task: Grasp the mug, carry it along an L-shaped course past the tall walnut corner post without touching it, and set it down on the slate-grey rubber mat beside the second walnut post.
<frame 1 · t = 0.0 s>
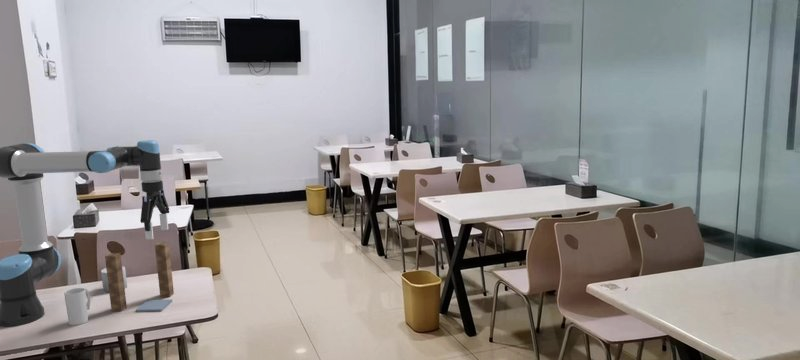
hand: (157, 234, 228), 28 cm above the table, fingers open, 13 cm apart
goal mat: (154, 306, 228), on the table
far post: (167, 295, 240), on the table
mug: (82, 320, 217), on the table
corner post: (119, 309, 227), on the table
toilet tissue: (116, 287, 251), on the table
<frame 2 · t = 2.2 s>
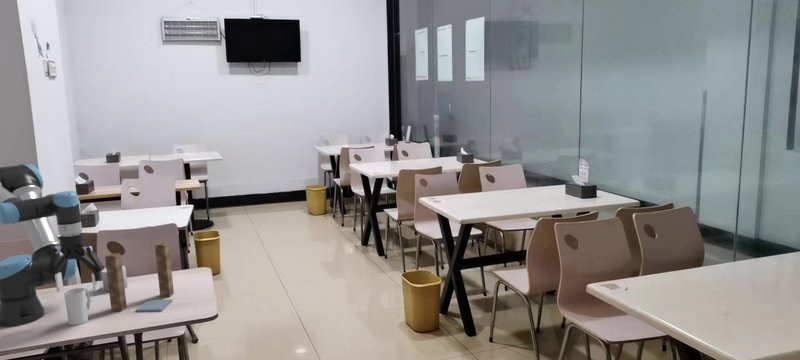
hand: (78, 290, 215), 12 cm above the table, fingers open, 13 cm apart
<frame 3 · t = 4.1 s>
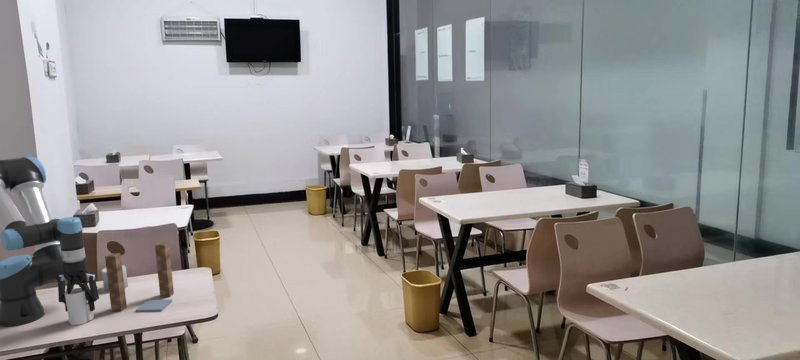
hand: (81, 319, 217), 0 cm above the table, fingers closed on mug, 6 cm apart
mug: (82, 320, 217), on the table, touching gripper
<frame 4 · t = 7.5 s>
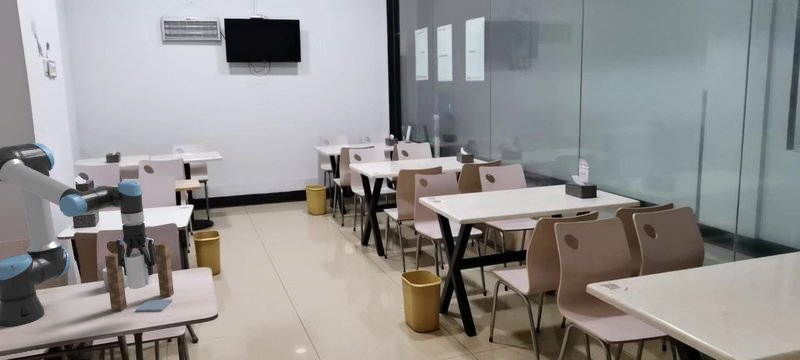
hand: (139, 283, 217), 13 cm above the table, fingers closed on mug, 6 cm apart
mug: (141, 285, 217), point 12 cm above the table, touching gripper
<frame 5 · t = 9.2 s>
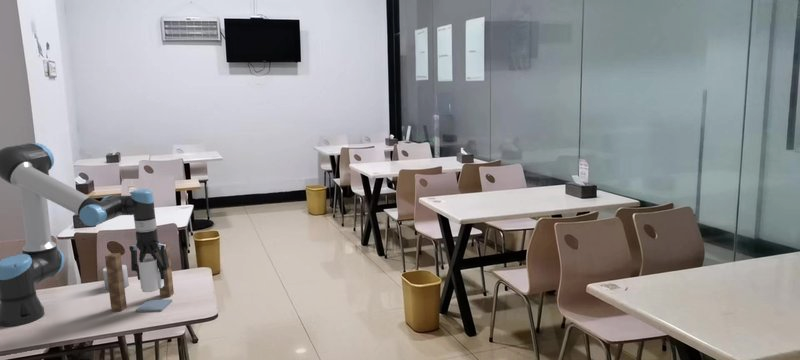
hand: (152, 287, 227), 8 cm above the table, fingers closed on mug, 6 cm apart
mug: (153, 288, 227), point 7 cm above the table, touching gripper
when the fingers open (2 cm above the table, at t = 10.9 s): mug drops 1 cm, resting on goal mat.
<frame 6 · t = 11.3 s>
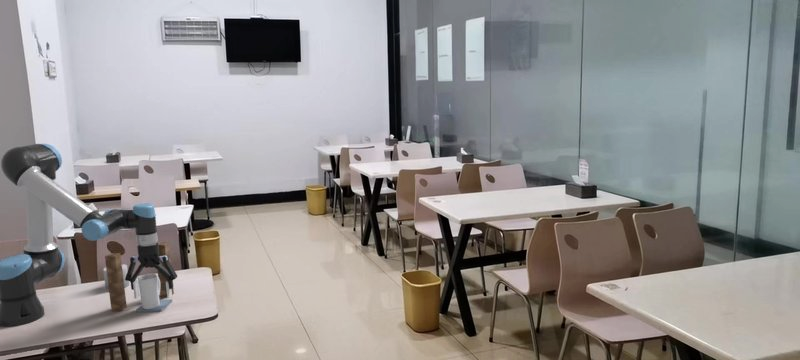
hand: (153, 297, 228), 4 cm above the table, fingers open, 12 cm apart
mug: (153, 304, 228), point 1 cm above the table, touching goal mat
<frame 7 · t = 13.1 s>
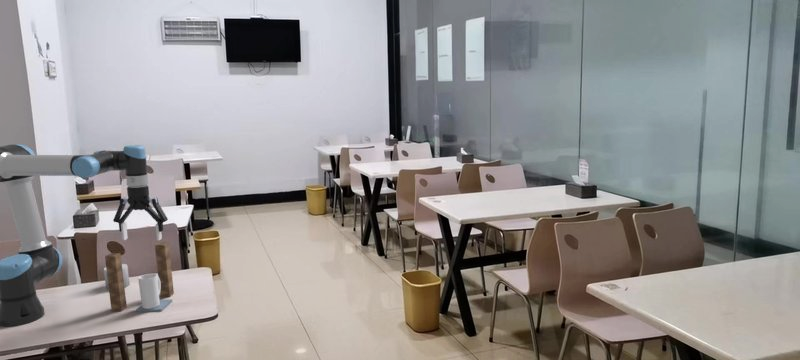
hand: (142, 239, 226), 26 cm above the table, fingers open, 13 cm apart
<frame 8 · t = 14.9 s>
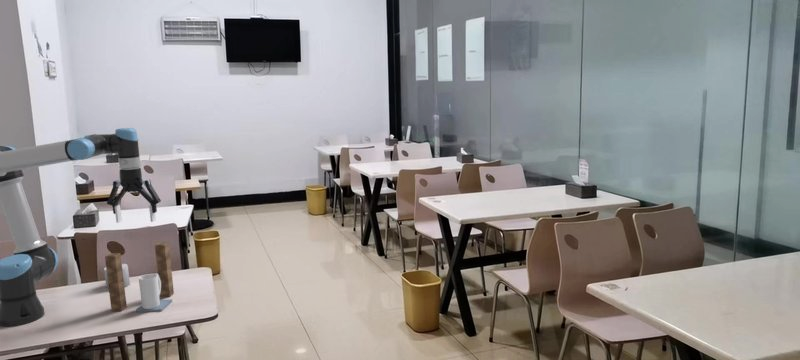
hand: (136, 221, 230), 33 cm above the table, fingers open, 13 cm apart
at the end: mug inside the target area on the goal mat (0.1 cm from its centre), point 0.6 cm above the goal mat's base; mug tilted 1°; corner post tilted 0° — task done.
